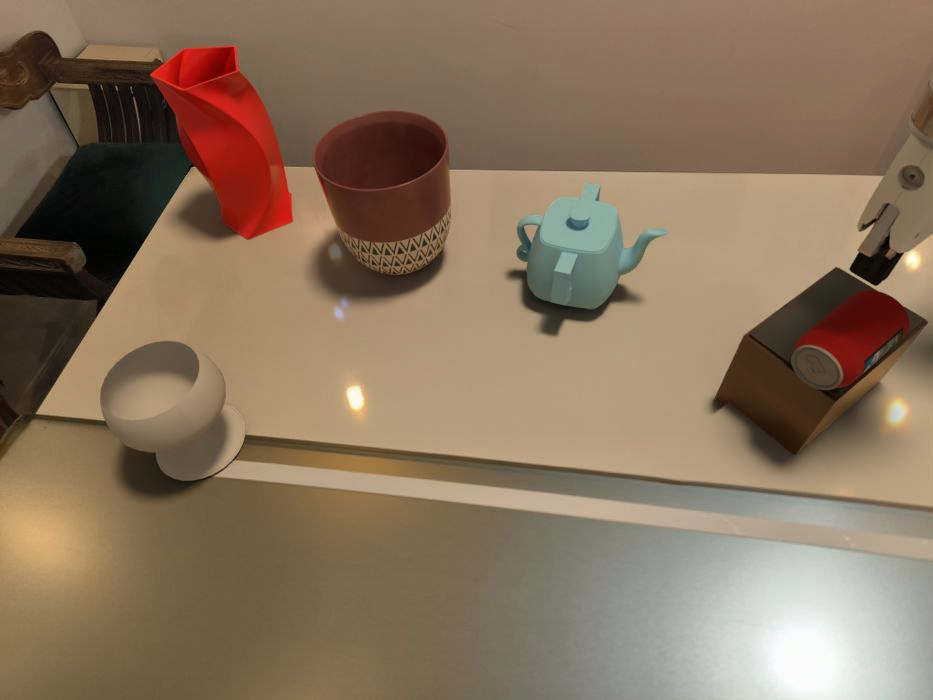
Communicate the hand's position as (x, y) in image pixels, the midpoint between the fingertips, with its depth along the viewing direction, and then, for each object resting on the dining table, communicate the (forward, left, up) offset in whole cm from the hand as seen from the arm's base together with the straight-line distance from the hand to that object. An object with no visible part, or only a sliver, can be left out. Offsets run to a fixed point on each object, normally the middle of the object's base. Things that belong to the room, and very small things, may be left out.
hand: (867, 274), depth 63 cm
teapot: (+6, -33, -24) cm, 41 cm away
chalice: (+67, -44, -24) cm, 83 cm away
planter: (+26, -57, -24) cm, 67 cm away
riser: (-2, 0, -24) cm, 24 cm away
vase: (+40, -84, -24) cm, 96 cm away
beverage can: (-3, +3, -6) cm, 8 cm away
